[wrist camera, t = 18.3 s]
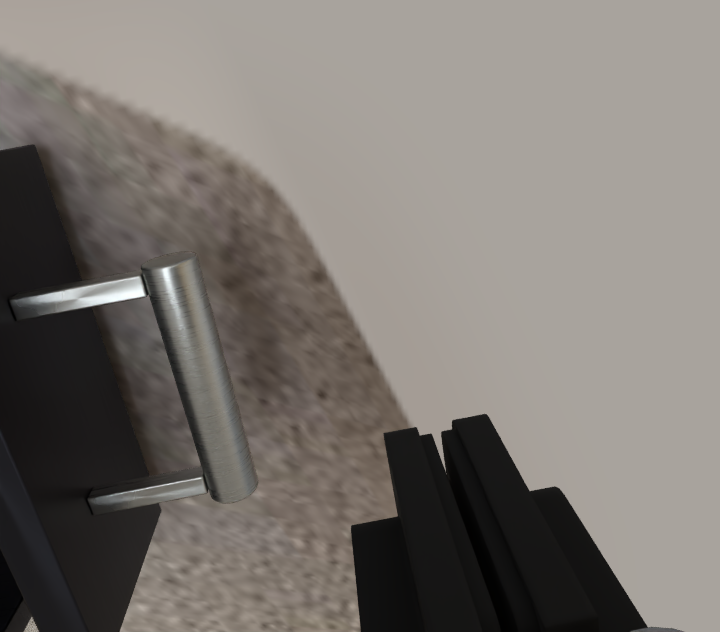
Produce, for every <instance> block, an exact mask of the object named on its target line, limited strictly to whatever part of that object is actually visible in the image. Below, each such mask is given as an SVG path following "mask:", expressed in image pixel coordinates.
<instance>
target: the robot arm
mask: <svg viewBox="0 0 720 632" xmlns="http://www.w3.org/2000/svg"><path fill="white" fill-rule="evenodd" d="M441 437H442V445H443V452H444V460H445V467H446V472H445V469H444V467H443V464H442V461H441V458H440V456H439V453H438V450H437V447H436V445H435V441H434V439H433V436H432V434H427V435H421V436H419V432H418V430H417V428H416V427H414V428H409V429H403V430H398V431H393V432H388V433H384V440H385V446H386V451H387V457H388V463H389V468H390V474H391V480H392V485H393V491H394V496H395V502H396V508H397V513H398V517H393V518H388V519H383V520H378V521H372V522H367V523H362V524H357V525H352V526H351V534H352V545H353V555H354V565H355V575H356V585H357V595H358V605H359V616H360V626H361V632H683V631H680V630H677V629H672V628H659V627H649V628H648V627H647V625H646V624H645V622H644V621H643V619H642V617H641V616H640V614H639V613H638V611H637V609H636V608H635V606H634V605H633V603H632V601H631V600H630V599H629V597H628V595H627V594H626V592H625V591H624V589H623V587H622V586H621V584H620V583H619V581H618V579H617V578H616V576H615V575H614V573H613V571H612V570H611V568H610V567H609V565H608V563H607V562H606V560H605V559H604V557H603V556H602V554H601V552H600V551H599V549H598V548H597V546H596V544H595V543H594V541H593V540H592V538H591V536H590V535H589V533H588V532H587V530H586V529H585V527H584V525H583V524H582V522H581V520H580V519H579V517H578V516H577V514H576V513H575V511H574V509H573V508H572V506H571V505H570V503H569V502H568V500H567V498H566V497H565V495H564V494H563V493H562V491H561V490H560V489H559V488H557V487H550V488H545V489H539V490H534V491H529V489H528V488H527V486H526V484H525V483H524V480H523V479H522V477H521V475H520V473H519V471H518V469H517V468H516V466H515V464H514V462H513V460H512V458H511V457H510V455H509V453H508V451H507V449H506V448H505V446H504V444H503V442H502V440H501V438H500V437H499V435H498V433H497V431H496V429H495V428H494V426H493V424H492V422H491V420H490V419H489V417H488V415H487V414H483V415H477V416H472V417H468V418H462V419H456V420H453V421H452V430H447V431H442V432H441ZM446 474H447V475H446Z"/></svg>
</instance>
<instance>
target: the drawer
mask: <svg viewBox="0 0 720 632" xmlns="http://www.w3.org/2000/svg"><path fill="white" fill-rule="evenodd" d="M148 294H149V297H150V300H151V303H152V306H153V310H154V313H155V316H156V319H157V323H158V326H159V329H160V332H161V336H162V339H163V342H164V345H165V349H166V352H167V355H168V358H169V362H170V365H171V368H172V372H173V375H174V378H175V381H176V385H177V388H178V391H179V394H180V398H181V401H182V404H183V407H184V411H185V414H186V417H187V420H188V424H189V427H190V430H191V433H192V437H193V440H194V443H195V446H196V450H197V453H198V456H199V459H200V463H201V466H200V467H195V468H189V469H184V470H179V471H174V472H169V473H163V474H158V475H153V476H149V473H148V470H147V468H146V465H145V462H144V459H143V456H142V453H141V450H140V447H139V444H138V441H137V439H136V436H135V433H134V430H133V427H132V424H131V421H130V418H129V415H128V413H127V410H126V407H125V404H124V401H123V398H122V395H121V392H120V389H119V387H118V384H117V381H116V378H115V375H114V372H113V369H112V366H111V363H110V361H109V358H108V355H107V352H106V349H105V346H104V343H103V340H102V337H101V335H100V332H99V329H98V326H97V323H96V320H95V317H94V314H93V311H92V309H91V307H96V306H102V305H107V304H113V303H118V302H123V301H129V300H134V299H139V298H145V297H147V296H148ZM257 485H258V477H257V474H256V470H255V466H254V463H253V459H252V455H251V451H250V448H249V444H248V440H247V437H246V433H245V429H244V426H243V422H242V418H241V415H240V411H239V407H238V404H237V400H236V396H235V392H234V389H233V385H232V381H231V378H230V374H229V370H228V367H227V363H226V359H225V356H224V352H223V348H222V344H221V341H220V337H219V333H218V330H217V326H216V322H215V319H214V315H213V311H212V308H211V304H210V300H209V297H208V293H207V289H206V285H205V282H204V278H203V274H202V271H201V267H200V263H199V260H198V256H197V254H196V253H195V252H176V253H171V254H166V255H163V256H159V257H156V258H153V259H151V260H149V261H147V262H145V263H144V264H142V266H141V270H138V271H133V272H127V273H122V274H116V275H111V276H105V277H100V278H95V279H89V280H84V281H82V280H81V277H80V274H79V271H78V268H77V265H76V262H75V259H74V256H73V254H72V251H71V248H70V245H69V242H68V239H67V236H66V233H65V230H64V228H63V225H62V222H61V219H60V216H59V213H58V210H57V207H56V204H55V202H54V199H53V196H52V193H51V190H50V187H49V184H48V181H47V178H46V176H45V173H44V170H43V167H42V164H41V161H40V158H39V155H38V152H37V150H36V147H35V145H27V146H22V147H16V148H11V149H5V150H0V632H24V630H25V628H26V626H27V624H28V622H29V621H30V619H31V617H33V619H34V622H35V624H36V626H37V628H38V630H39V632H120V629H121V626H122V623H123V620H124V617H125V614H126V611H127V608H128V606H129V603H130V600H131V597H132V594H133V591H134V588H135V585H136V582H137V580H138V577H139V574H140V571H141V568H142V565H143V562H144V559H145V556H146V554H147V551H148V548H149V545H150V542H151V539H152V536H153V533H154V530H155V528H156V525H157V522H158V519H159V516H160V513H161V508H160V505H159V503H161V502H166V501H171V500H177V499H182V498H187V497H192V496H197V495H203V494H207V493H208V489H209V492H210V495H211V497H212V499H213V500H214V501H216V502H218V503H223V504H227V503H234V502H237V501H240V500H243V499H245V498H246V497H248V496H249V495H251V494H252V493H253V492H254V491H255V489H256V488H257Z"/></svg>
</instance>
